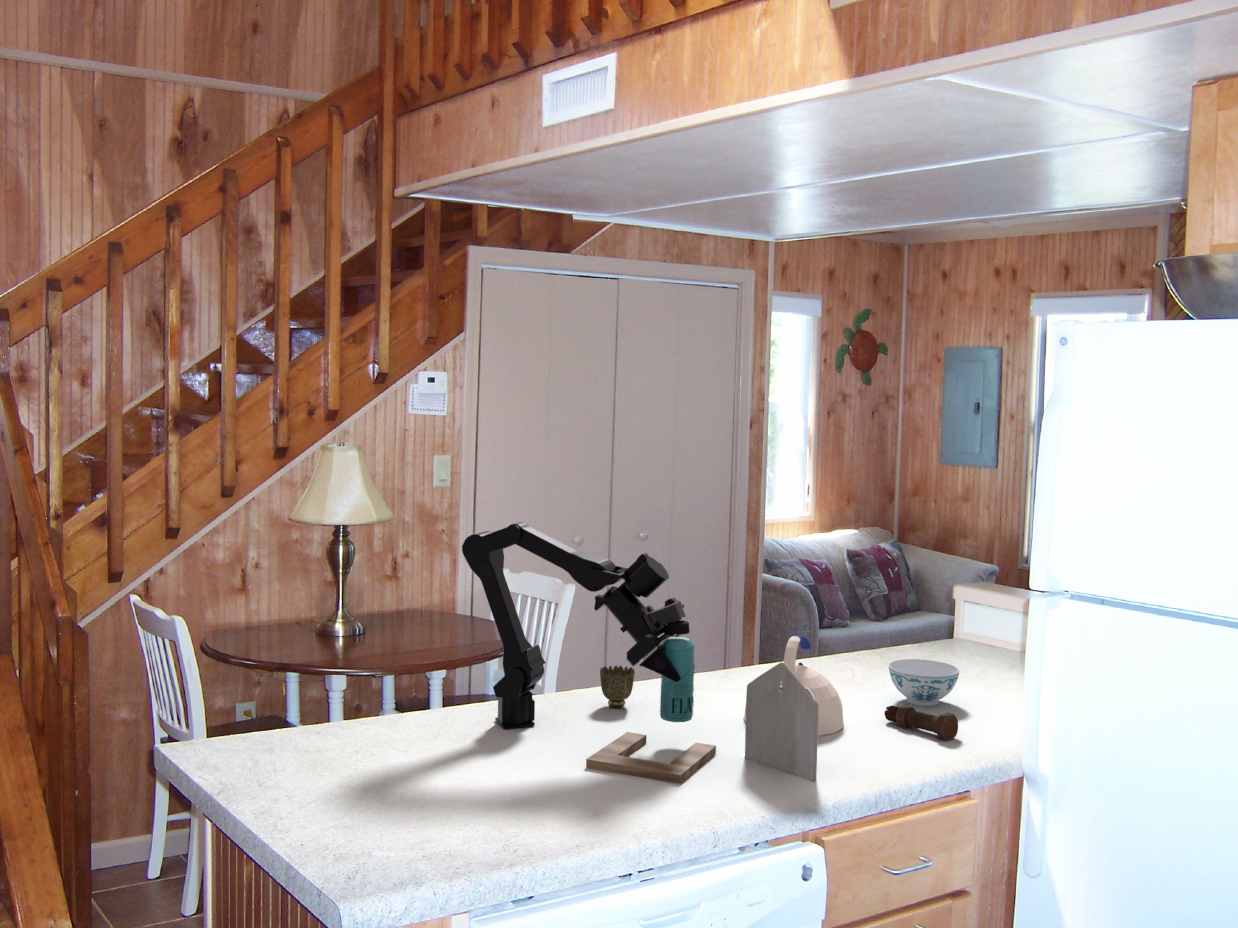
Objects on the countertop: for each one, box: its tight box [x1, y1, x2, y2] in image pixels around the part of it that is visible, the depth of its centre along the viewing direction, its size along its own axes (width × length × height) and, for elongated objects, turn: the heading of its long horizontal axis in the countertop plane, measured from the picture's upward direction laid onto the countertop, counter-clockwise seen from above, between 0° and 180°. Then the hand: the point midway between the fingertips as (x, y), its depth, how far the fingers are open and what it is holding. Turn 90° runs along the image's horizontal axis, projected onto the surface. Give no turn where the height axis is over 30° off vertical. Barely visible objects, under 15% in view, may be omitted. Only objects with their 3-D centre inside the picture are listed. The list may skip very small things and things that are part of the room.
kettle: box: [743, 634, 845, 737], centre depth 231 cm, size 20×21×18 cm
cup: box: [599, 665, 636, 709], centre depth 240 cm, size 8×7×8 cm
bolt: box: [884, 704, 959, 742], centre depth 227 cm, size 6×5×15 cm
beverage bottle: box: [659, 619, 696, 723], centre depth 215 cm, size 6×7×20 cm
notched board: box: [585, 731, 717, 785], centre depth 206 cm, size 18×18×2 cm
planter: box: [744, 661, 819, 782], centre depth 204 cm, size 16×8×19 cm, turn 42°
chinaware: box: [888, 658, 960, 707], centre depth 248 cm, size 15×15×8 cm
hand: (684, 676), depth 214 cm, fingers closed on beverage bottle, 6 cm apart
